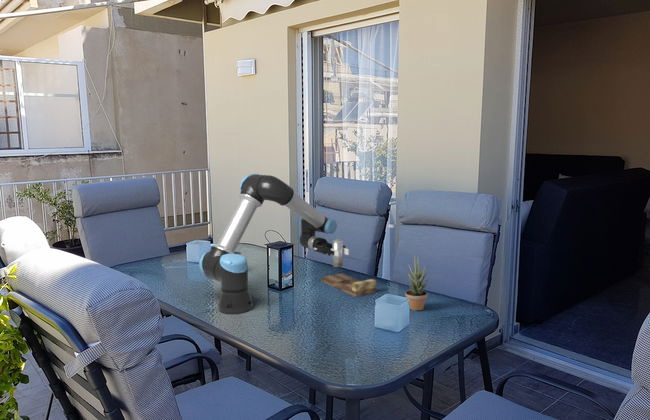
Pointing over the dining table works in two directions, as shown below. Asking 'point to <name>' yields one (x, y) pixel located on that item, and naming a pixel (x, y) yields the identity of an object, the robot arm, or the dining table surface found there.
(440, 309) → the dining table surface
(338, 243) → the steel sleeve
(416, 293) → the potted plant
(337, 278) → the jig bar
